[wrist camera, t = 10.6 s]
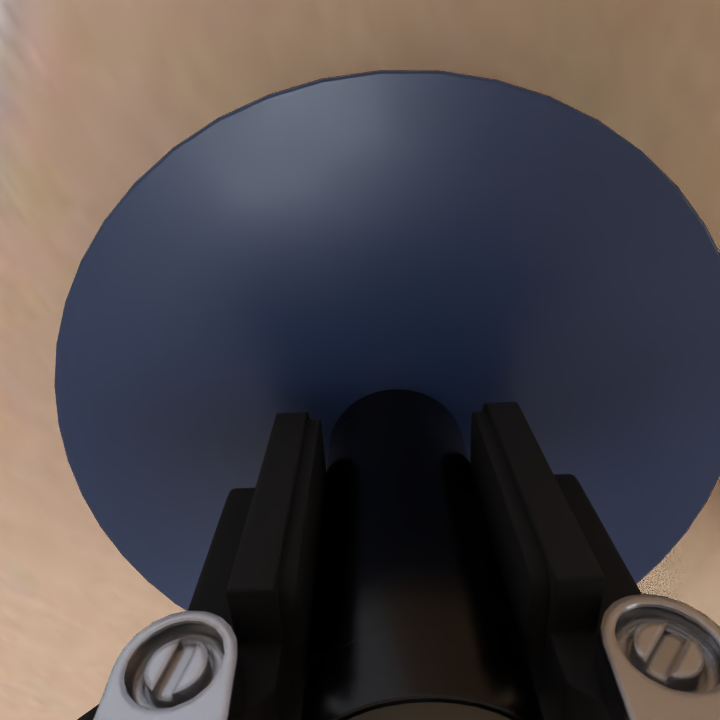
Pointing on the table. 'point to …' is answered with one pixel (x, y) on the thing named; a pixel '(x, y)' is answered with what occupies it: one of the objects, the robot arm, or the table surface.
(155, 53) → the table surface
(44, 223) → the table surface
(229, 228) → the lid
